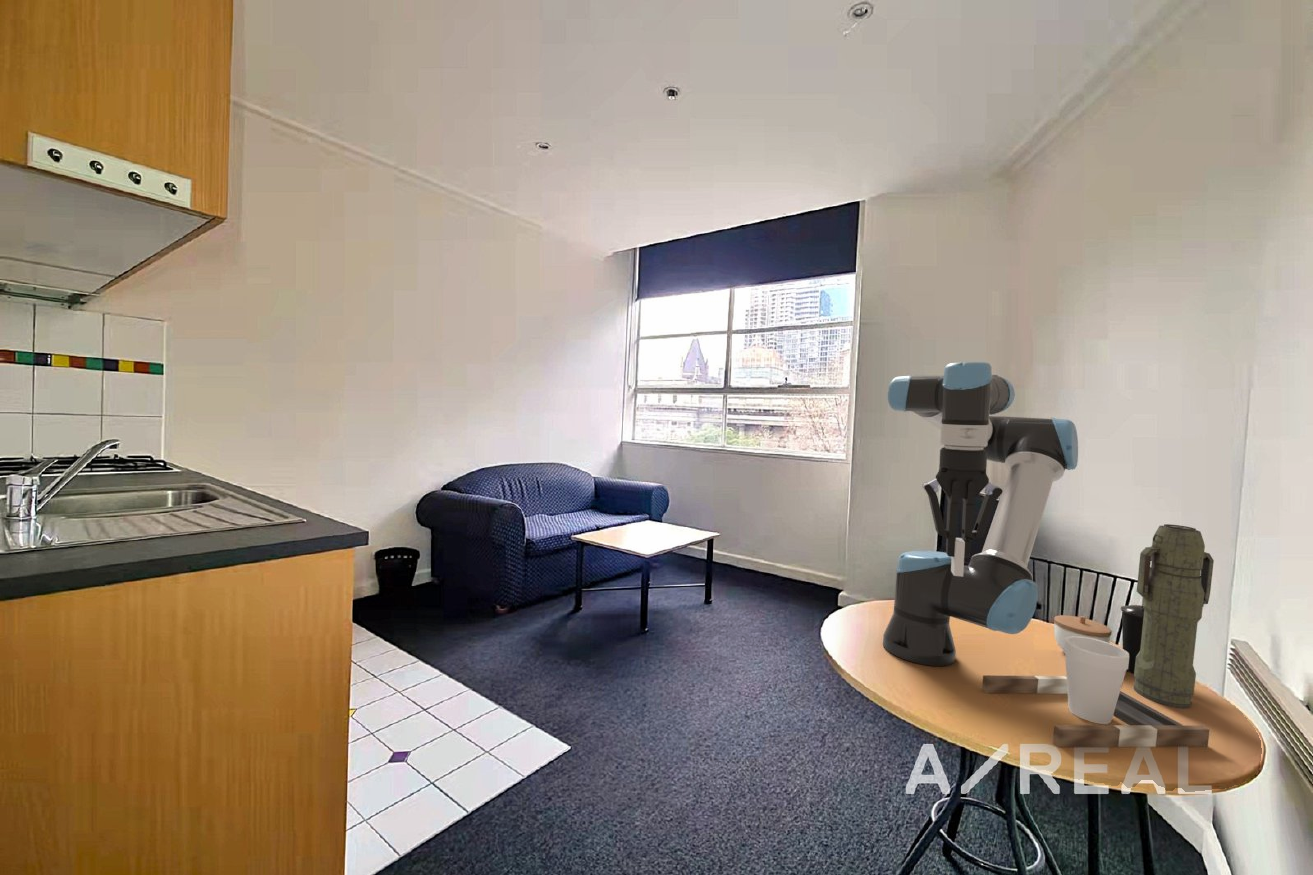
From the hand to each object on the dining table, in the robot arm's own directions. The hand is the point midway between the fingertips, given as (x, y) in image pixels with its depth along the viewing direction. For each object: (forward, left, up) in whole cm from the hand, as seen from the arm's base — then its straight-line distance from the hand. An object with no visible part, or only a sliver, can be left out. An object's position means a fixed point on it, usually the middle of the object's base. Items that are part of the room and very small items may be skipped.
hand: (956, 573), depth 101 cm
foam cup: (+26, +6, -25) cm, 37 cm away
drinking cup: (+47, +32, -25) cm, 63 cm away
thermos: (+45, +20, -25) cm, 56 cm away
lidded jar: (+38, +37, -25) cm, 59 cm away
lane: (+25, +5, -25) cm, 36 cm away
